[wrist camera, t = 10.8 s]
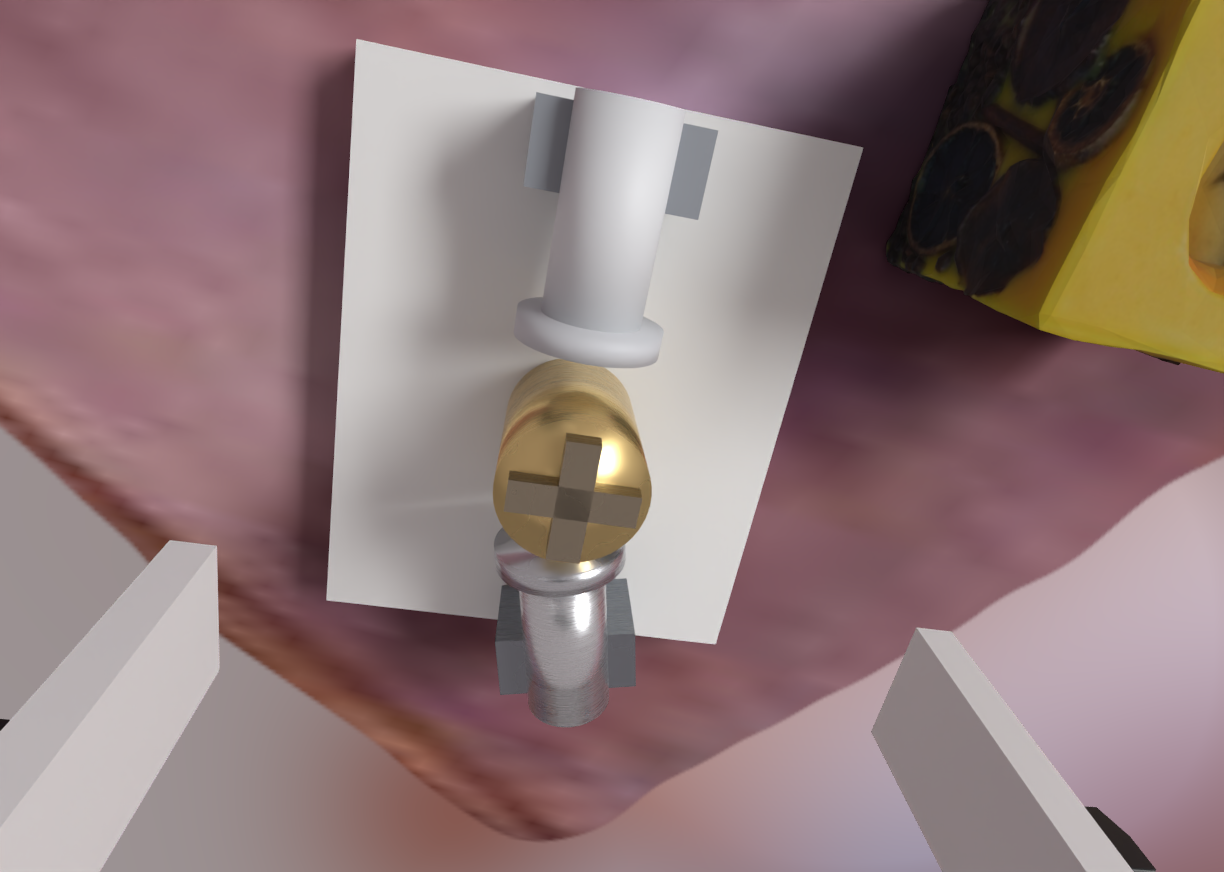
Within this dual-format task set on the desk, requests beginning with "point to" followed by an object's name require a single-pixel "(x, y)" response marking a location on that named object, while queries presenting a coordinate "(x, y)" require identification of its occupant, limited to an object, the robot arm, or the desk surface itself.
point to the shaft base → (473, 361)
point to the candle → (1083, 175)
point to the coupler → (571, 464)
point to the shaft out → (563, 632)
